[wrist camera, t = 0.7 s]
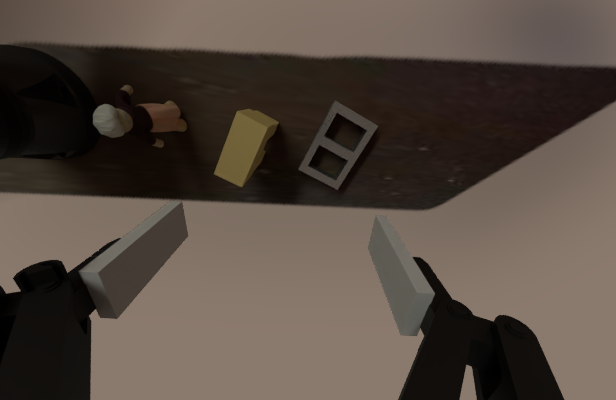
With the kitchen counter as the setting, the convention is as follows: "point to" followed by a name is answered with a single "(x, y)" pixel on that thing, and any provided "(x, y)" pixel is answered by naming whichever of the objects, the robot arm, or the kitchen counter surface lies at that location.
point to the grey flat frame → (337, 146)
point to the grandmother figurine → (137, 118)
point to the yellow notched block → (245, 146)
